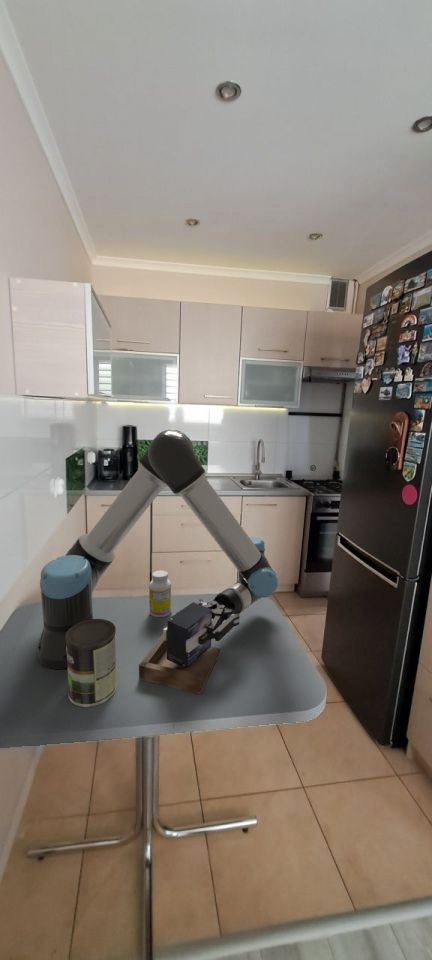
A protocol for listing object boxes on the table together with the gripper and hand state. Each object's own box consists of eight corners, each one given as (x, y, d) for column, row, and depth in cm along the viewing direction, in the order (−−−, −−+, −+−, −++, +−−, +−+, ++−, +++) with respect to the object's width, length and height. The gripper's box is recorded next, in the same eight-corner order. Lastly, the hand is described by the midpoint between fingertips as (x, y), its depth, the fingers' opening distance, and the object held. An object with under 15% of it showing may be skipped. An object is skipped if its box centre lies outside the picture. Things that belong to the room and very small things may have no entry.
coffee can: (69, 714, 74) (65, 651, 72) (67, 680, 84) (64, 623, 81) (120, 699, 78) (119, 639, 76) (114, 668, 88) (112, 614, 85)
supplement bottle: (153, 606, 117) (152, 568, 114) (173, 607, 116) (173, 569, 114) (146, 617, 110) (146, 577, 108) (168, 619, 109) (167, 579, 107)
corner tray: (139, 679, 84) (138, 665, 84) (168, 639, 99) (168, 627, 99) (200, 694, 80) (200, 680, 79) (220, 650, 95) (221, 638, 94)
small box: (187, 670, 84) (187, 628, 82) (165, 660, 87) (165, 619, 85) (212, 646, 92) (213, 608, 91) (192, 638, 96) (192, 600, 94)
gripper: (261, 626, 98) (208, 673, 80) (205, 603, 109) (147, 639, 91) (262, 600, 96) (208, 641, 78) (205, 579, 108) (146, 611, 90)
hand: (175, 640), depth 85 cm, fingers closed on small box, 6 cm apart
